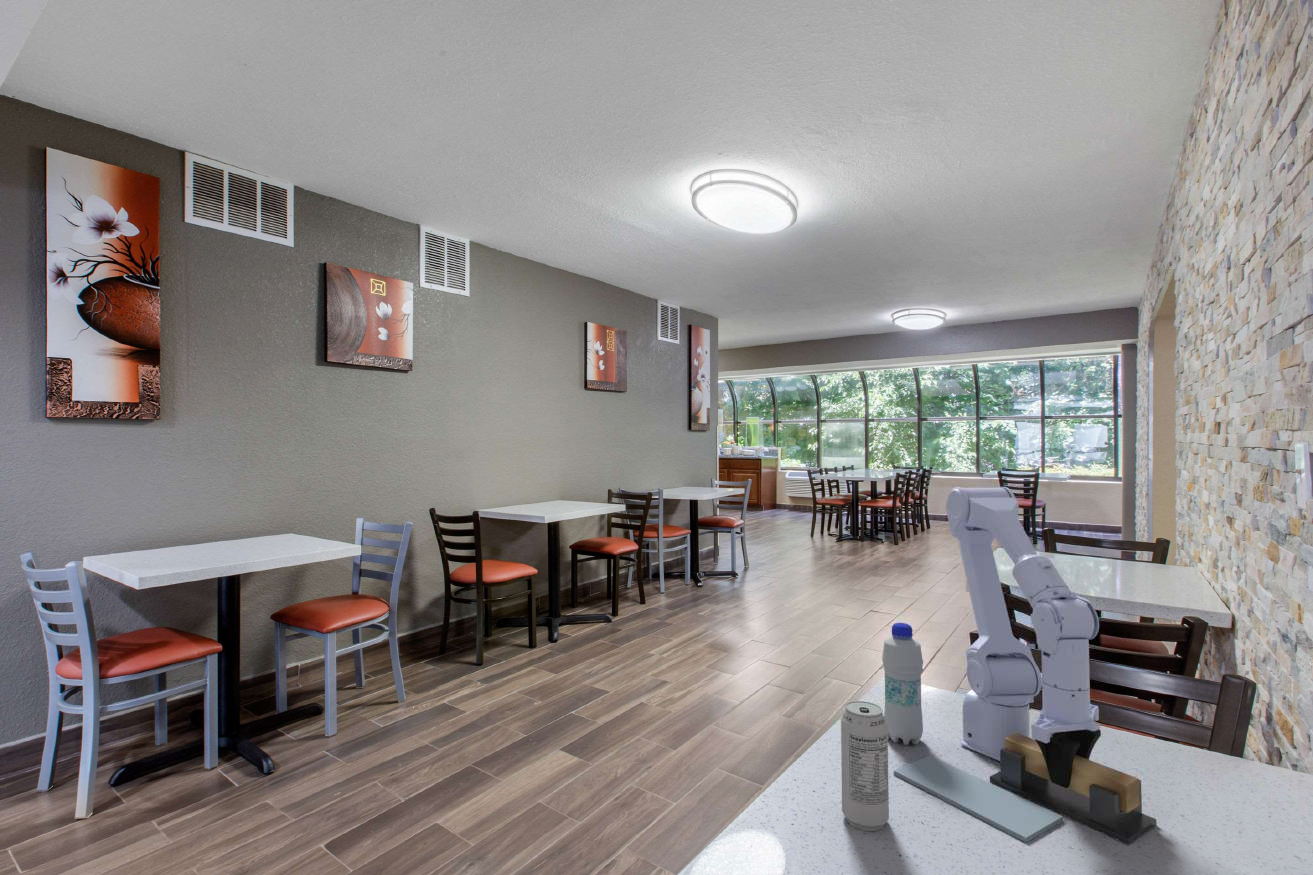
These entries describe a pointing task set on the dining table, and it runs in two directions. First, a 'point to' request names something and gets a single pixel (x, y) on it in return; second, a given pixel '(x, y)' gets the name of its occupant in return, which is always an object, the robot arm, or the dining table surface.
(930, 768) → the mat
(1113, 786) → the oak rail
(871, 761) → the energy drink can
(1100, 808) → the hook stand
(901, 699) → the bottle
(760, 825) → the dining table surface
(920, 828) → the dining table surface
